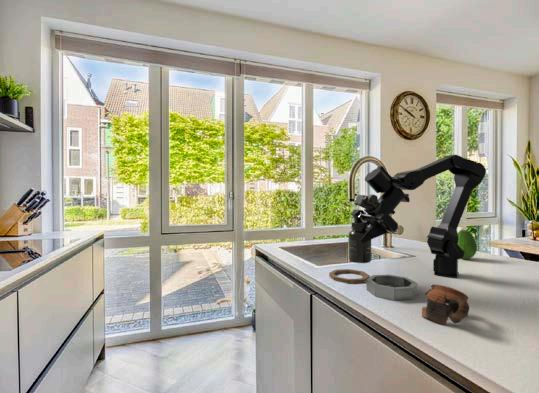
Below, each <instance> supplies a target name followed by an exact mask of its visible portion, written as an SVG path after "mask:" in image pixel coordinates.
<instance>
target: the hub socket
mask: <svg viewBox="0 0 539 393" xmlns="http://www.w3.org/2000/svg"><path fill="white" fill-rule="evenodd" d="M366 291H367V292H369V293H370V294H372V295H373V296H374V297H377V298H381V299H387V300H392V301H406V300H408V301H409V300H414V299H415V297H416V296H417V295H418V282H417V281H415V280H413V279H410V278H408V277H405V276H400V275H393V274H373V275H370V277H369V278H368V279H367V281H366Z"/></svg>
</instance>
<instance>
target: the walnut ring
mask: <svg viewBox="0 0 539 393" xmlns="http://www.w3.org/2000/svg"><path fill="white" fill-rule="evenodd" d="M328 274H329V275H328V277H329V278H331V279H332V281H335V282H341V283H345V284H363V283H367V279H368V278H369V277H371V275H370V274H368V273H366V272H365V271H362V270H357V269H351V268H348V269H347V268H344V269H343V268H342V269H341V268H340V269H334V270H332V271H330V272H329V273H328ZM338 274H354V275H360V276H361V277H360V278H345V277H341V276H338Z"/></svg>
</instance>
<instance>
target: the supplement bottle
mask: <svg viewBox="0 0 539 393" xmlns="http://www.w3.org/2000/svg"><path fill="white" fill-rule="evenodd" d="M368 228H369V226H368V223H366V222H355V221H353V222H351V230H350V231H349V233H348V235H347V236H348V237H347V238H348V260H349V261H350V262H351V263H355V264H368V263H370V262H372V239H371V240H369V241H367V242H365V243H362V242H361V241H360V240H361V238H362V237H363V235H364V234H365V232H366V231H367V229H368Z"/></svg>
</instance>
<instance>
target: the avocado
mask: <svg viewBox="0 0 539 393" xmlns="http://www.w3.org/2000/svg"><path fill="white" fill-rule="evenodd" d="M457 233H458V237H459V239H458V246H459V247H460V248H461V249H462V250H463V251H464V256H463V258H462V260H469V259H471V258H473V257H475V255H476V253H477V251H478V247H477V246H478V245H477V243H476V240H475V238H474V236H473V234H472V233H471V232H470V231H469V230H467V229H460V230H459V231H457Z"/></svg>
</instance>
